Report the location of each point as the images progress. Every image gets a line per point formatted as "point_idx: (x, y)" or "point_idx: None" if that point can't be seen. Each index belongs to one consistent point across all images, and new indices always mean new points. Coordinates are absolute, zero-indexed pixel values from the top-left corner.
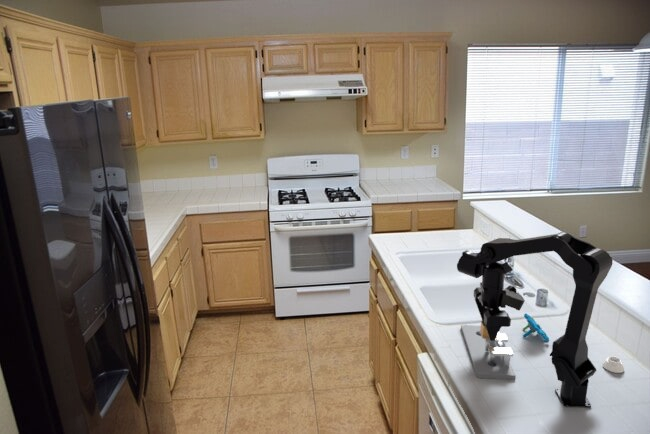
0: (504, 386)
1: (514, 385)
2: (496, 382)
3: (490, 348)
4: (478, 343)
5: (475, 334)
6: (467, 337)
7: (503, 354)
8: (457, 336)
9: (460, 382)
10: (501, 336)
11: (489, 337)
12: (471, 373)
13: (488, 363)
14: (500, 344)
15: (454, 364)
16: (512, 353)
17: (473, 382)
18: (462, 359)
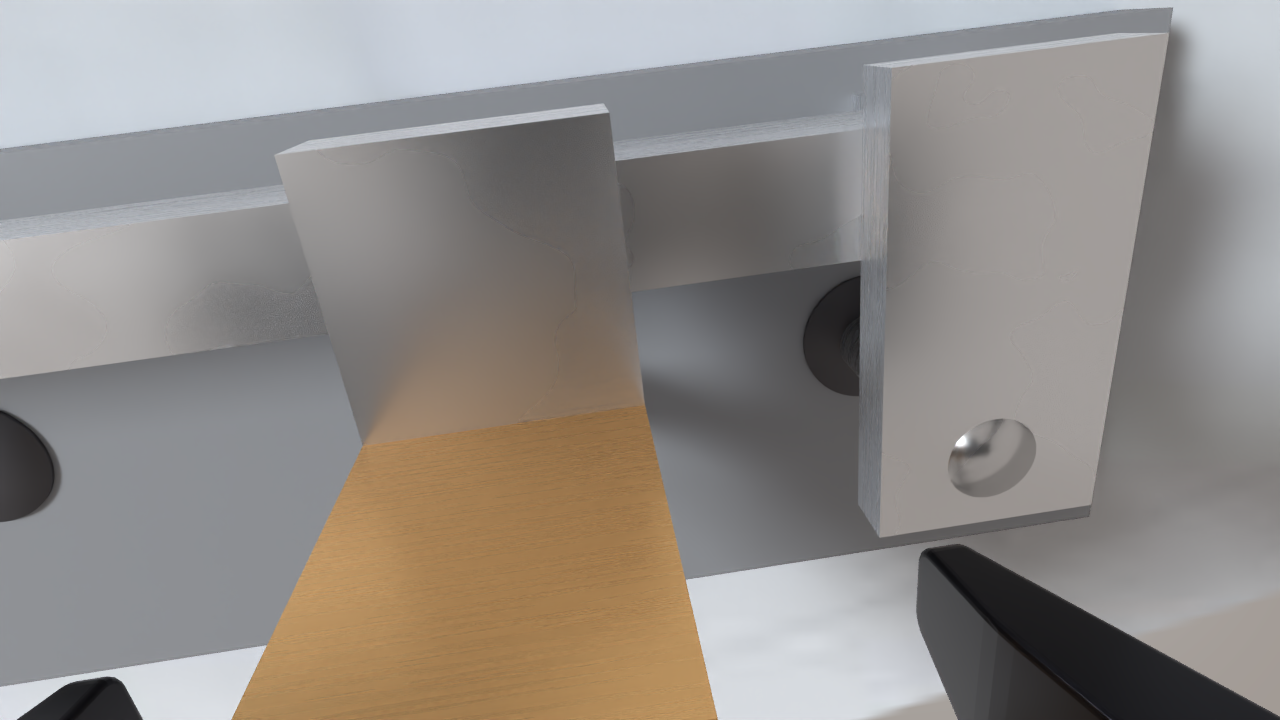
0: (1246, 189)
1: (1247, 46)
2: (1155, 280)
3: (934, 503)
4: (329, 491)
5: (50, 528)
6: (207, 626)
7: (1113, 261)
8: (158, 689)
9: (1116, 626)
10: (490, 280)
11: (973, 707)
12: (969, 536)
13: None
14: (635, 262)
15: (808, 685)
16: (1150, 54)
17: (1128, 518)
18: (699, 622)
